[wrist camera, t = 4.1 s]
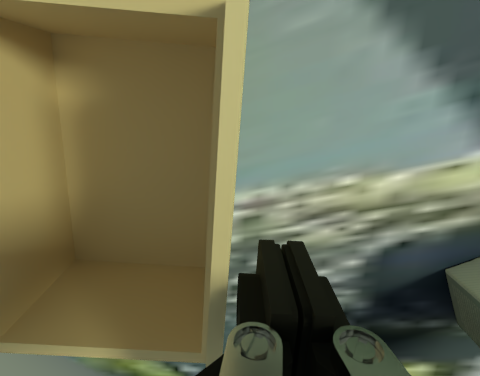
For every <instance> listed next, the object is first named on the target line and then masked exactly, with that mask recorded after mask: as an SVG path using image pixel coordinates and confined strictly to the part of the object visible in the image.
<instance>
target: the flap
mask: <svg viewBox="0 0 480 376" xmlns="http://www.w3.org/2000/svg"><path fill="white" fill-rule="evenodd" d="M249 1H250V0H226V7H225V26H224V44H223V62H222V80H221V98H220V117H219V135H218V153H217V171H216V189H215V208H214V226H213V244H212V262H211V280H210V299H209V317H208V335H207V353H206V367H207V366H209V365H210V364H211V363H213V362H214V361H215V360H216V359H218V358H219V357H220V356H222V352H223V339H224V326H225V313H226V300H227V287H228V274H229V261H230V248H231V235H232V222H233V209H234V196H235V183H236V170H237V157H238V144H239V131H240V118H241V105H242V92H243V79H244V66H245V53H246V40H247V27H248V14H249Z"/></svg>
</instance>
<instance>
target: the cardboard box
mask: <svg viewBox="0 0 480 376" xmlns="http://www.w3.org/2000/svg"><path fill="white" fill-rule="evenodd" d="M225 7H226V0H0V353H19V354H37V355H57V356H76V357H95V358H115V359H134V360H153V361H172V362H192V363H206V353H207V335H208V317H209V299H210V280H211V262H212V244H213V226H214V208H215V189H216V171H217V153H218V135H219V117H220V98H221V80H222V62H223V44H224V26H225Z"/></svg>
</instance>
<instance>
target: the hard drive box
mask: <svg viewBox="0 0 480 376" xmlns="http://www.w3.org/2000/svg"><path fill="white" fill-rule="evenodd" d="M445 272H446V277H447V281H448V285H449V290H450V294H451V299H452V303H453V307H454V311H455V315H456V319H457V323H458V325H459V326H460V327H461V328H462V329H463V330H464V331H465V332H466V333H467V334H468V336H469V337H470V338H471V339H472V340H473V341H474V342H475V343H476V344H477V345H478V346H479V348H480V257H479V258H476V259H474V260H472V261H470V262H466V263H463V264H460V265H457V266H454V267H451V268H448V269H446V270H445Z"/></svg>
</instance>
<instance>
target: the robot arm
mask: <svg viewBox="0 0 480 376" xmlns="http://www.w3.org/2000/svg"><path fill="white" fill-rule="evenodd" d="M196 376H411V375H410V374H409V373H408V371H407V370H406V369H405V368H404V366H403V365H402V364H401V362H400V361H399V360H398V359H397V357H396V356H395V355H394V353H393V352H392V351H391V350H390V348H389V347H388V346H387V344H386V343H385V342H384V341H383V340H382V339H381V338H380V337H379V336H377V335H376V334H374V333H373V332H371V331H369V330H367V329H365V328H362V327H358V326H350V324H349V322H348V320H347V318H346V316H345V314H344V312H343V310H342V307H341V305H340V303H339V301H338V299H337V297H336V295H335V293H334V291H333V289H332V287H331V285H330V283H329V281H328V279H327V278H326V277H321V276H318V274H317V272H316V270H315V268H314V265H313V263H312V261H311V259H310V256H309V254H308V252H307V250H306V248H305V245H304V243H303V242H302V241H288V242H287V245H286V244H282V248H280V245H279V244H275V243H274V240H259V245H258V256H257V269H256V274H248V273H239V276H238V291H237V326H236V327H235V328H234V329H233V330H232V331H231V332H230V334H229V336H228V339H227V344H226V348H225V352H224V354H223V355H222V356H220V357H219V358H218V359H216V360H215V361H214V362H213V363H211V364H210V365H209V366H207V367H206V368H205V369H204V370H202V371H201V372H200V373H198V374H197V375H196Z"/></svg>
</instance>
